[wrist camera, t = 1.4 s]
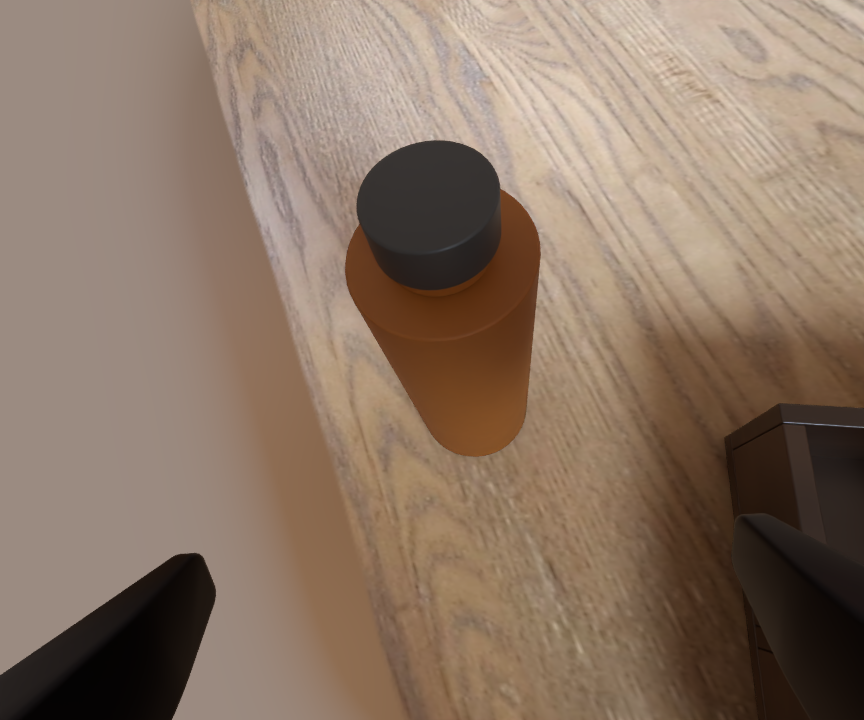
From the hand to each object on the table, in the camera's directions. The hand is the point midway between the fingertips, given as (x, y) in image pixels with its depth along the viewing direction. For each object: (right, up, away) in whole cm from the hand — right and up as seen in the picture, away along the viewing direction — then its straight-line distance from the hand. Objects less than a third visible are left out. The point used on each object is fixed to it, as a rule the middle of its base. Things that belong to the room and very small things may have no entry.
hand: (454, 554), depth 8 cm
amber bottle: (+2, +1, +14) cm, 15 cm away
